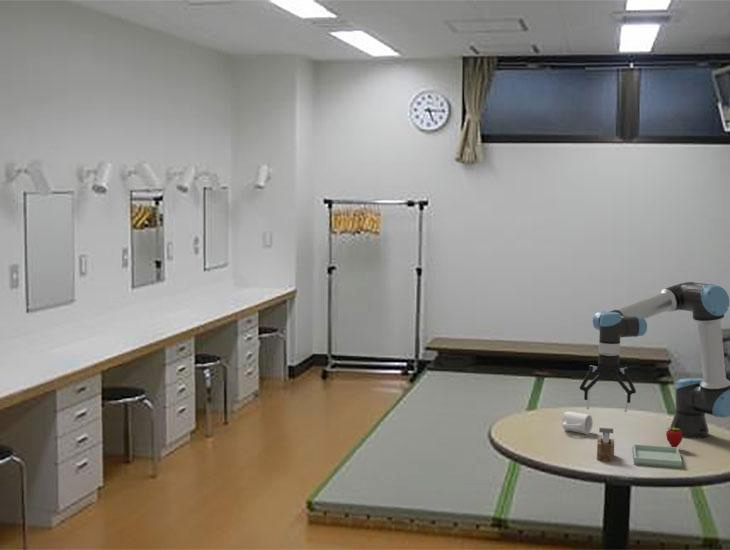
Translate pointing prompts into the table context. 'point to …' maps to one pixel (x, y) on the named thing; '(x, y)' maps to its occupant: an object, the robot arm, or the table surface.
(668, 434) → the strawberry
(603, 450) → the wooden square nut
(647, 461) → the tray
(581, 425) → the mug
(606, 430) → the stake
